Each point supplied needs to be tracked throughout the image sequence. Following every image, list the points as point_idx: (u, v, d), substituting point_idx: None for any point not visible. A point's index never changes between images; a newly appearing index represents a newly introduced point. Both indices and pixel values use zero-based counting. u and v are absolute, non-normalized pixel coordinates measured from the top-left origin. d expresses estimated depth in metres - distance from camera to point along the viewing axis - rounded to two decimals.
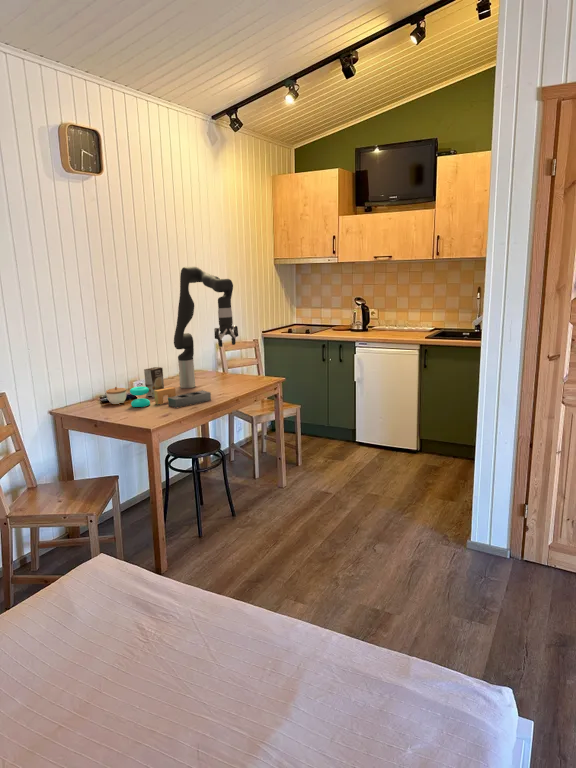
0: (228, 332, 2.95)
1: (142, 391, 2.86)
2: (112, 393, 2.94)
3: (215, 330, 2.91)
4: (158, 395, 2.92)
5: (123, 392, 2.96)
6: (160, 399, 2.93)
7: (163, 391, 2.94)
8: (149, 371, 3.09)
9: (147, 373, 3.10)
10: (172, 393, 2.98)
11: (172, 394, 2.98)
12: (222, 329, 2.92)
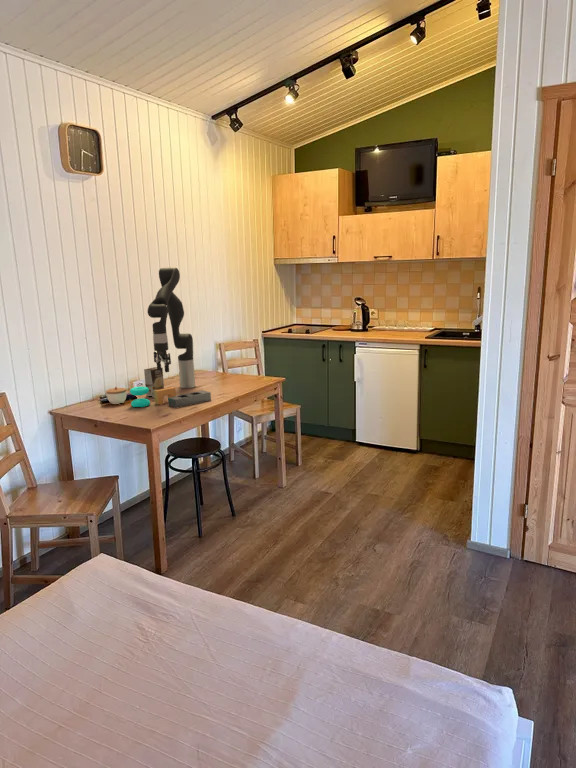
0: None
1: (142, 391, 2.86)
2: (112, 393, 2.94)
3: (167, 355, 2.87)
4: (158, 395, 2.92)
5: (123, 392, 2.96)
6: (160, 399, 2.93)
7: (163, 391, 2.94)
8: (149, 371, 3.09)
9: (147, 373, 3.10)
10: (172, 393, 2.98)
11: (172, 394, 2.98)
12: None
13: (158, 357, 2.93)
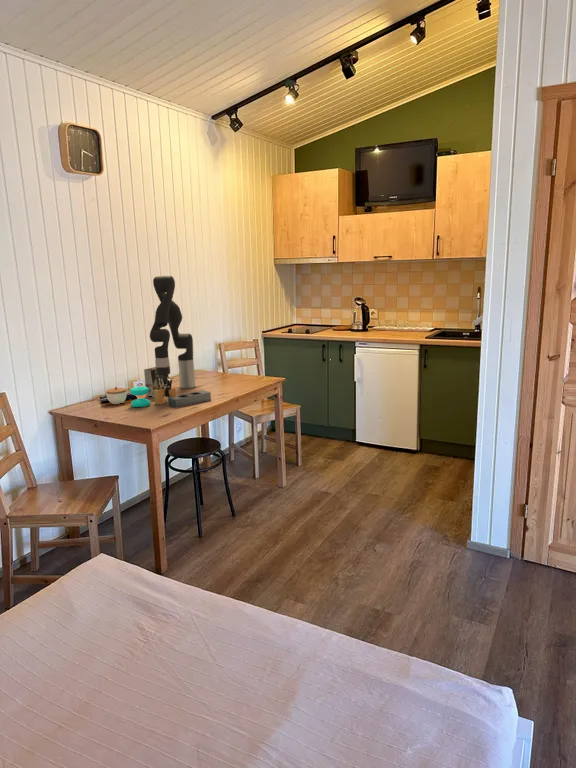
0: None
1: (142, 391, 2.86)
2: (112, 393, 2.94)
3: (169, 382, 2.90)
4: (158, 395, 2.92)
5: (123, 392, 2.96)
6: (160, 399, 2.93)
7: (163, 391, 2.94)
8: (149, 371, 3.09)
9: (147, 373, 3.10)
10: (172, 393, 2.98)
11: (172, 394, 2.98)
12: None
13: (161, 381, 2.95)
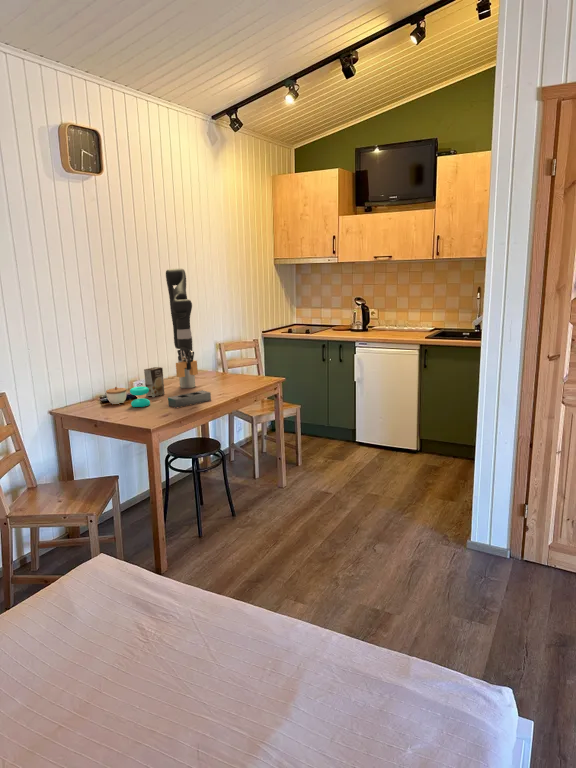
0: None
1: (142, 391, 2.86)
2: (112, 393, 2.94)
3: (191, 354, 2.84)
4: (180, 367, 2.85)
5: (123, 392, 2.96)
6: (181, 372, 2.86)
7: (185, 364, 2.87)
8: (149, 371, 3.09)
9: (147, 373, 3.10)
10: (194, 366, 2.91)
11: (194, 367, 2.91)
12: None
13: (182, 353, 2.88)
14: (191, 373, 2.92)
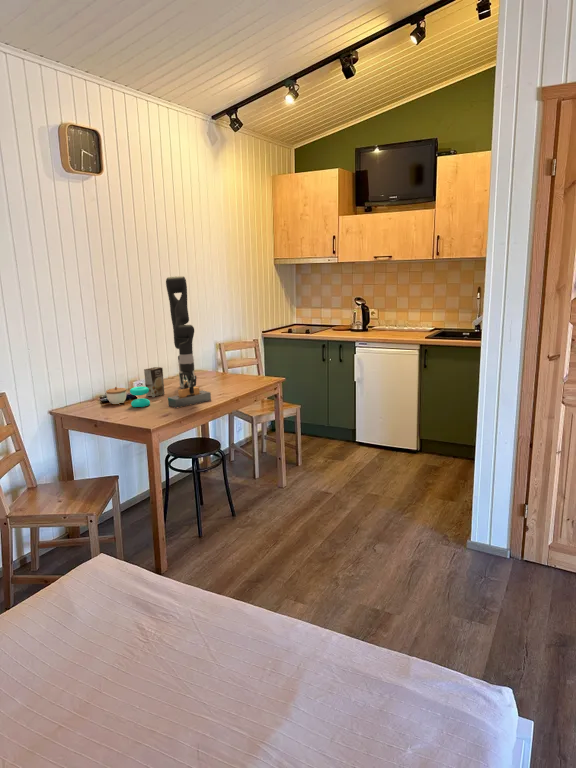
0: None
1: (142, 391, 2.86)
2: (112, 393, 2.94)
3: (194, 378, 2.86)
4: (182, 395, 2.88)
5: (123, 392, 2.96)
6: None
7: (187, 390, 2.90)
8: (149, 371, 3.09)
9: (147, 373, 3.10)
10: (196, 393, 2.94)
11: (196, 394, 2.94)
12: None
13: (184, 377, 2.91)
14: None
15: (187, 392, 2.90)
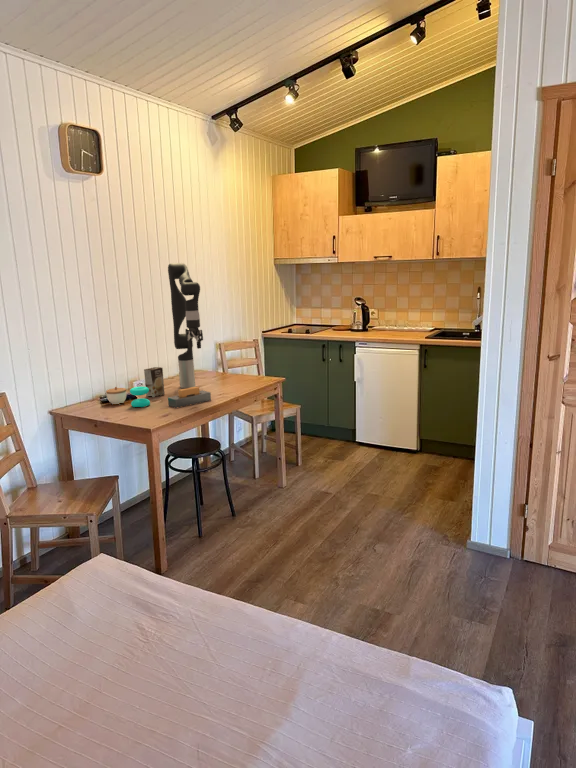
0: None
1: (142, 391, 2.86)
2: (112, 393, 2.94)
3: (200, 332, 2.96)
4: (182, 395, 2.88)
5: (123, 392, 2.96)
6: None
7: (187, 390, 2.90)
8: (149, 371, 3.09)
9: (147, 373, 3.10)
10: (196, 393, 2.94)
11: (196, 394, 2.94)
12: None
13: (190, 334, 3.02)
14: None
15: (187, 392, 2.90)
